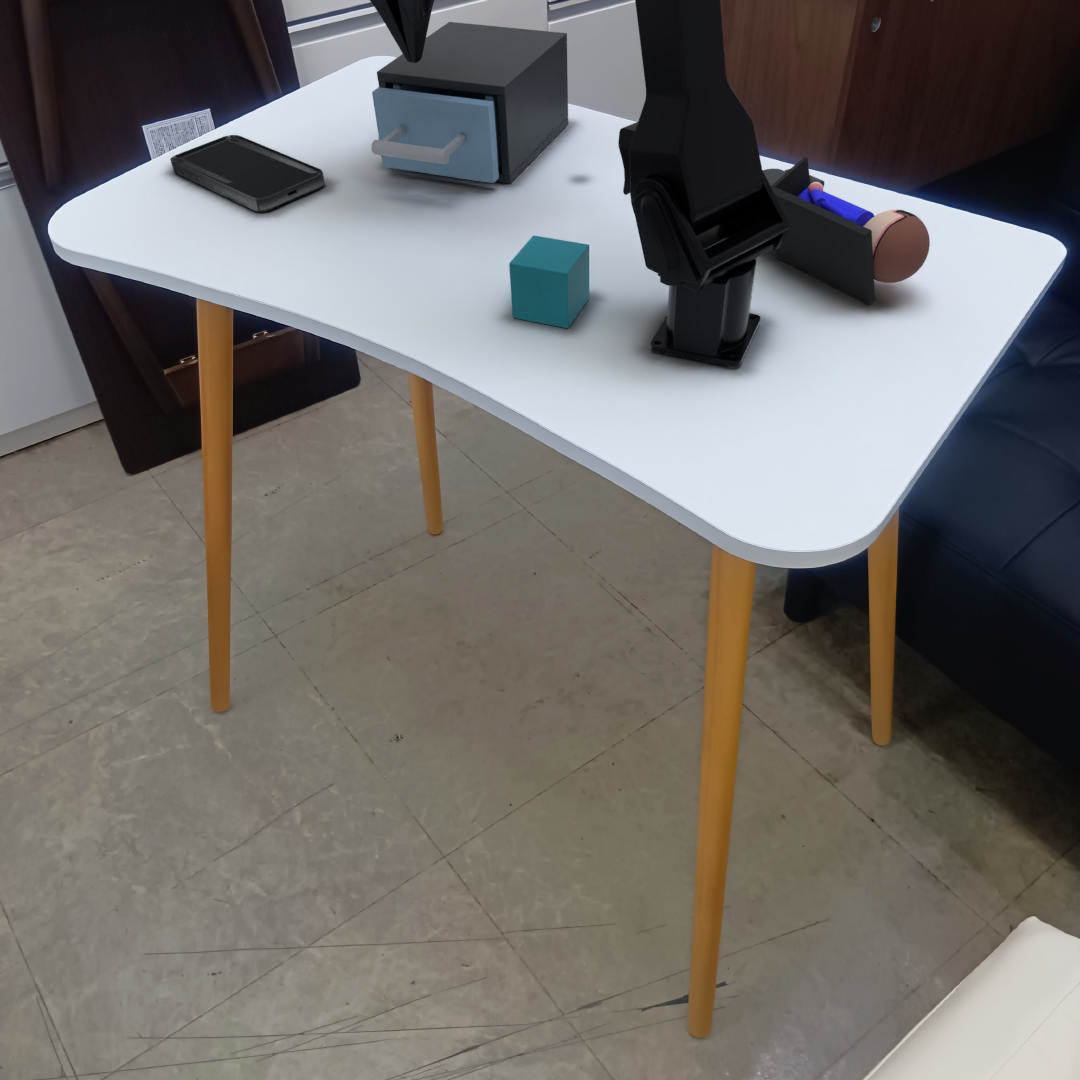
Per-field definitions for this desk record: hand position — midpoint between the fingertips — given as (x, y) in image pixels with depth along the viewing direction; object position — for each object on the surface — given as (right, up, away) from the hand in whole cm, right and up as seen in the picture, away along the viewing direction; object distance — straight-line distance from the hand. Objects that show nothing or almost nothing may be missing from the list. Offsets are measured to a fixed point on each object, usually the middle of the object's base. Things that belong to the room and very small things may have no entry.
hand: (414, 61), depth 80 cm
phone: (-17, -5, +12) cm, 22 cm away
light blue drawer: (+3, -3, +11) cm, 12 cm away
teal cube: (+11, -22, -7) cm, 26 cm away
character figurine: (+33, -19, -4) cm, 38 cm away
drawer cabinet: (+5, -1, +15) cm, 16 cm away
